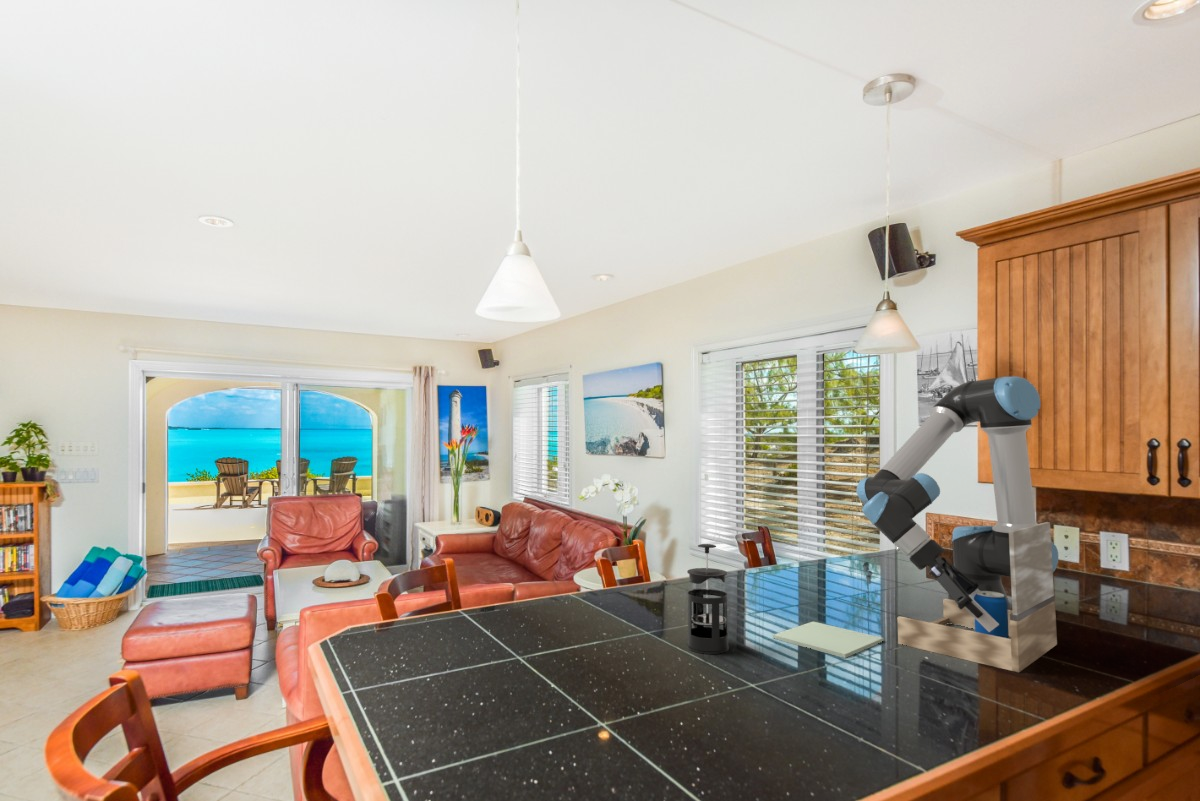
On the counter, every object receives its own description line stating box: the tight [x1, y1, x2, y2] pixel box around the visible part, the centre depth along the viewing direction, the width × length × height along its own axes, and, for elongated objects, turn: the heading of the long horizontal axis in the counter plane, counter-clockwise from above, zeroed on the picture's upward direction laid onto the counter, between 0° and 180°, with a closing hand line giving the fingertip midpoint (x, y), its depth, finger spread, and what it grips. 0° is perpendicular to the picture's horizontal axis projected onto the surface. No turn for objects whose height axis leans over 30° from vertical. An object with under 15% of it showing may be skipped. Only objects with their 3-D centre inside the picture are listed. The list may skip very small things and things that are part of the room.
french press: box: [686, 543, 730, 655], centre depth 141 cm, size 12×9×23 cm
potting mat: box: [772, 621, 884, 659], centre depth 145 cm, size 18×18×1 cm
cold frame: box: [896, 521, 1058, 673], centre depth 144 cm, size 24×28×28 cm
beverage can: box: [974, 591, 1010, 639], centre depth 141 cm, size 6×6×12 cm
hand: (995, 621), depth 140 cm, fingers open, 13 cm apart
